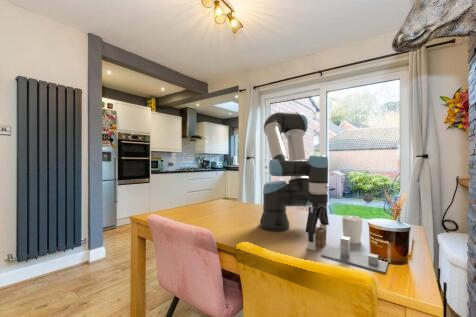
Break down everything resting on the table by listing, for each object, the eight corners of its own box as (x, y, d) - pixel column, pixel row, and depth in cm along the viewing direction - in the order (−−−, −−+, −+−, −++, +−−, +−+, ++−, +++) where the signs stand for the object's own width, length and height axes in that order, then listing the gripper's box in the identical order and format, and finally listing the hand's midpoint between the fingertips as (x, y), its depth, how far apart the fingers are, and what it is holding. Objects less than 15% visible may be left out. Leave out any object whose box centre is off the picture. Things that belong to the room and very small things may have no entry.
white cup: (361, 245, 96) (361, 221, 96) (340, 241, 100) (340, 218, 100) (362, 239, 103) (363, 217, 103) (343, 236, 107) (343, 214, 107)
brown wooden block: (308, 245, 96) (309, 229, 96) (313, 241, 100) (313, 226, 100) (321, 248, 93) (321, 231, 93) (325, 244, 97) (326, 228, 97)
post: (340, 257, 85) (340, 238, 85) (342, 254, 87) (342, 236, 87) (348, 259, 84) (348, 239, 83) (349, 256, 86) (350, 237, 85)
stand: (321, 256, 86) (321, 248, 86) (329, 247, 94) (329, 240, 94) (385, 273, 73) (385, 264, 73) (388, 262, 81) (389, 253, 81)
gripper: (316, 198, 84) (315, 257, 85) (336, 190, 104) (335, 238, 104) (296, 195, 89) (296, 251, 89) (319, 188, 108) (319, 234, 109)
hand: (317, 244), depth 97 cm, fingers open, 12 cm apart
